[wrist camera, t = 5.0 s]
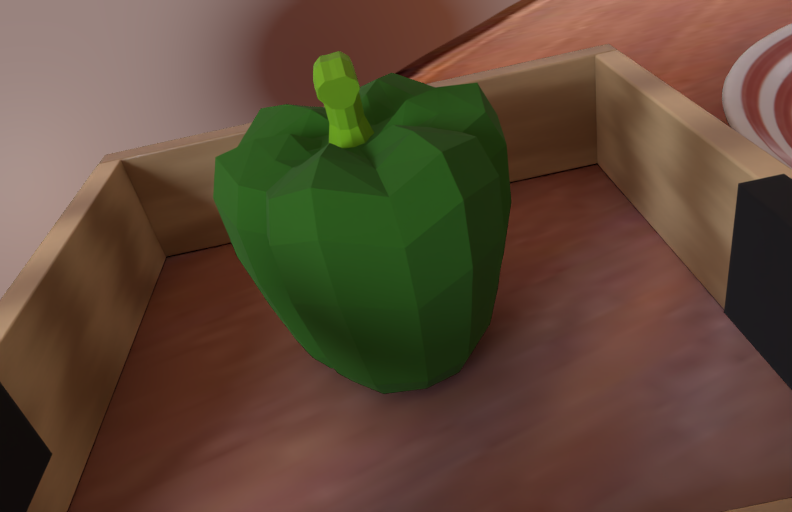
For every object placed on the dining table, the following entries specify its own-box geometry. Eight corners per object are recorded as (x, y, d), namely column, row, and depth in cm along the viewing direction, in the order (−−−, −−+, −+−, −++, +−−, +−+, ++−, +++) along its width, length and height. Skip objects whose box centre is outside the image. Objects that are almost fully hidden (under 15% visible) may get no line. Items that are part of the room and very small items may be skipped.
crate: (980, 540, 13) (1074, 359, 10) (-68, 750, 14) (-239, 628, 11) (610, 150, 30) (608, 42, 27) (150, 250, 30) (104, 154, 28)
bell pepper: (327, 266, 26) (250, 15, 21) (532, 263, 24) (506, -24, 18) (237, 427, 20) (92, 120, 14) (509, 445, 17) (458, 82, 12)
